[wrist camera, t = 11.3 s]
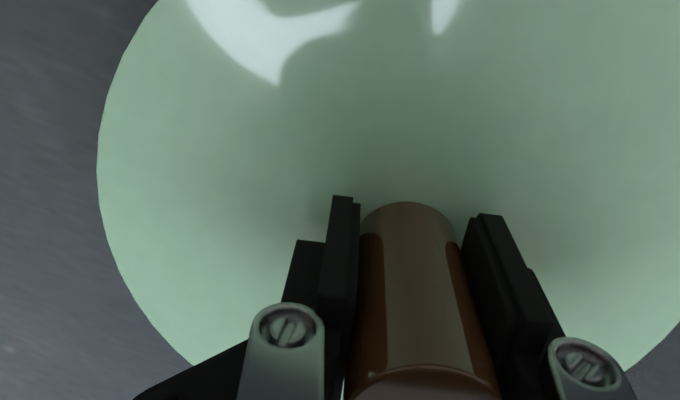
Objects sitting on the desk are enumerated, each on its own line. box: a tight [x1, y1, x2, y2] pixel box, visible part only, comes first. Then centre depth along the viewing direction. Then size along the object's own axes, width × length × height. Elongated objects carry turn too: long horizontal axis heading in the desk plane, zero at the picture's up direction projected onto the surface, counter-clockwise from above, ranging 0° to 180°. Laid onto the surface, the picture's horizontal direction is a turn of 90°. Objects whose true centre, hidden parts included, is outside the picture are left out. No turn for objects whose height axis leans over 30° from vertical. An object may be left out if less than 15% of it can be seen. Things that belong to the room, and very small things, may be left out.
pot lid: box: [96, 0, 680, 400], centre depth 11 cm, size 17×17×7 cm
